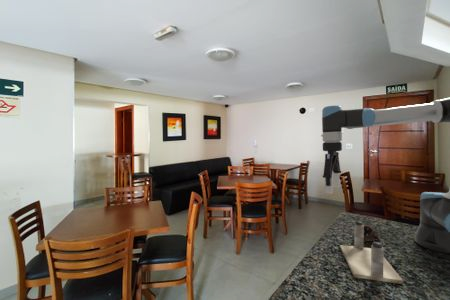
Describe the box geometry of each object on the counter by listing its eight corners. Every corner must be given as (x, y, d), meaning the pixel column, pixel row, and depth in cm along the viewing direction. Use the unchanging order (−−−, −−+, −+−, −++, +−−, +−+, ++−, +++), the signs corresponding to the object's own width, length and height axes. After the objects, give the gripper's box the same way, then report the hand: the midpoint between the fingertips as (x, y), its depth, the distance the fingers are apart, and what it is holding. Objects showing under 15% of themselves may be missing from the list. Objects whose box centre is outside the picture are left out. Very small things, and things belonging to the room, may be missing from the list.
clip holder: (376, 251, 91) (377, 222, 90) (403, 285, 70) (404, 248, 69) (339, 247, 95) (339, 219, 94) (354, 278, 74) (354, 243, 73)
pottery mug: (386, 247, 95) (380, 233, 93) (365, 254, 97) (359, 241, 95) (371, 229, 106) (365, 216, 105) (352, 236, 108) (346, 223, 106)
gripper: (329, 141, 107) (330, 184, 108) (314, 142, 87) (315, 195, 88) (346, 141, 102) (347, 185, 103) (335, 142, 83) (335, 197, 84)
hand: (332, 190), depth 96 cm, fingers open, 13 cm apart
